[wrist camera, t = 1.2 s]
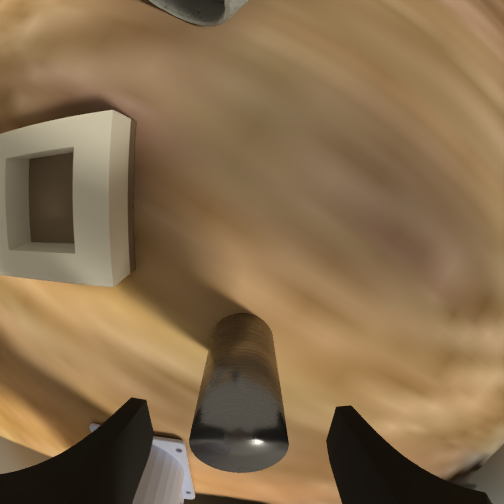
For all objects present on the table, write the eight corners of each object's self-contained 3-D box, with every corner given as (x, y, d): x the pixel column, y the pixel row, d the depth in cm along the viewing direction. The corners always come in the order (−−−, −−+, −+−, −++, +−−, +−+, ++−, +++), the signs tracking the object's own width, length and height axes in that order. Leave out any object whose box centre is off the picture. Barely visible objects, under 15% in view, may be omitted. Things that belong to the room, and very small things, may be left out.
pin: (270, 366, 17) (282, 472, 9) (212, 364, 17) (193, 469, 9) (275, 314, 16) (294, 415, 8) (211, 312, 16) (184, 411, 8)
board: (135, 269, 16) (113, 287, 13) (-42, 255, 15) (-65, 264, 12) (136, 121, 14) (113, 109, 11) (-45, 159, 14) (-70, 160, 11)
